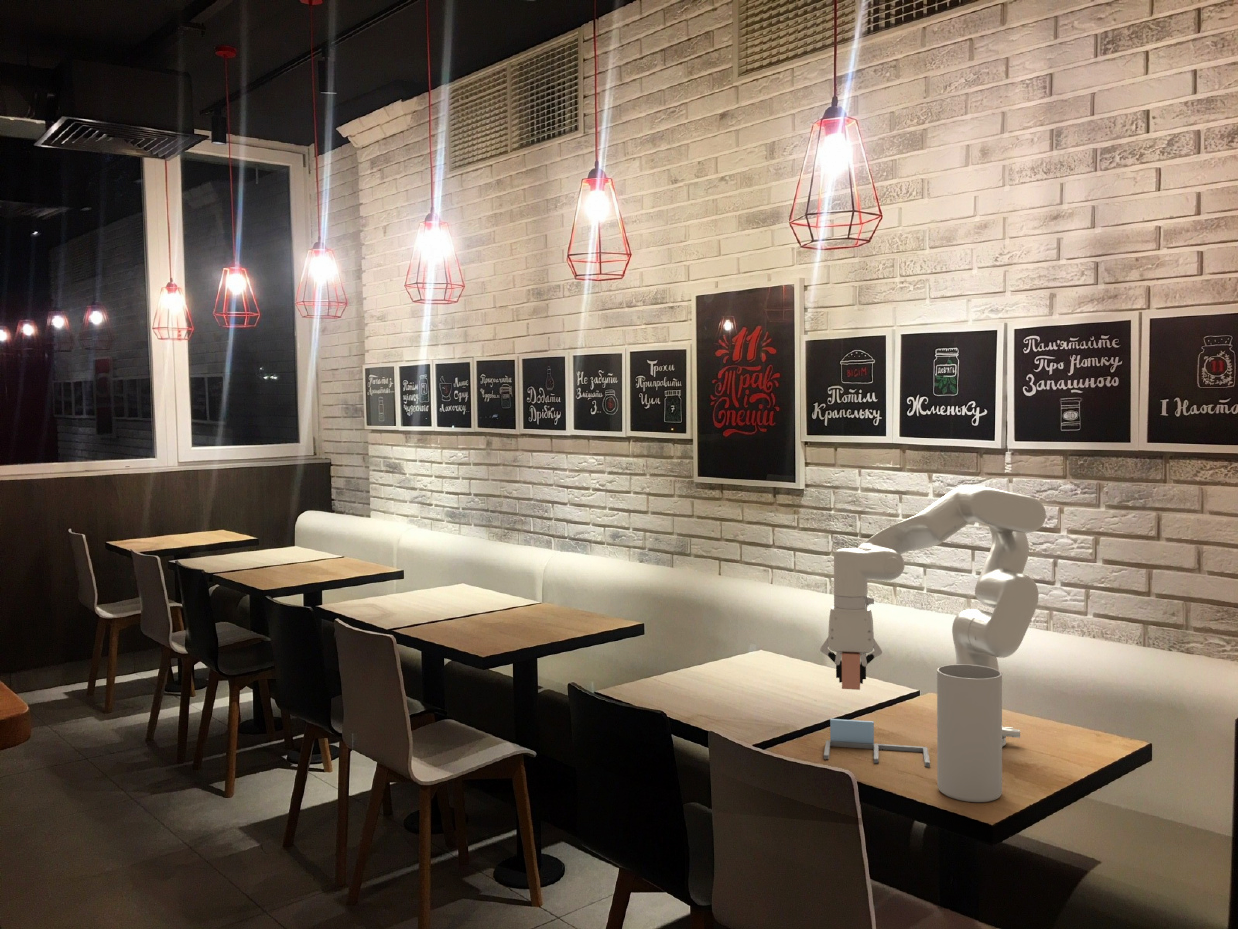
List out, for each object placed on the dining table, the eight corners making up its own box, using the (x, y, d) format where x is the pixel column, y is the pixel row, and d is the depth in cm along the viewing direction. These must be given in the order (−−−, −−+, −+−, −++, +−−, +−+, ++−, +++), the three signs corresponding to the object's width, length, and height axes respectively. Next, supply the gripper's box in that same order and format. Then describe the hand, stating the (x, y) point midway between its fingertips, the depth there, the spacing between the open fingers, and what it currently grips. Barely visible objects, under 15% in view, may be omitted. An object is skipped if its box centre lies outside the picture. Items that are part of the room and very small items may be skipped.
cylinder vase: (1012, 791, 199) (1012, 670, 198) (986, 808, 190) (985, 682, 190) (954, 777, 208) (953, 661, 207) (926, 793, 199) (926, 672, 198)
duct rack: (927, 750, 226) (926, 724, 226) (929, 767, 214) (929, 740, 214) (826, 743, 232) (826, 718, 231) (823, 759, 220) (823, 733, 220)
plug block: (860, 684, 225) (860, 650, 225) (859, 689, 220) (859, 654, 220) (842, 683, 226) (842, 649, 226) (841, 688, 221) (841, 654, 221)
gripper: (888, 601, 224) (888, 679, 225) (814, 598, 228) (815, 676, 229) (888, 606, 217) (889, 688, 217) (812, 604, 221) (813, 684, 222)
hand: (851, 681), depth 223 cm, fingers closed on plug block, 4 cm apart
